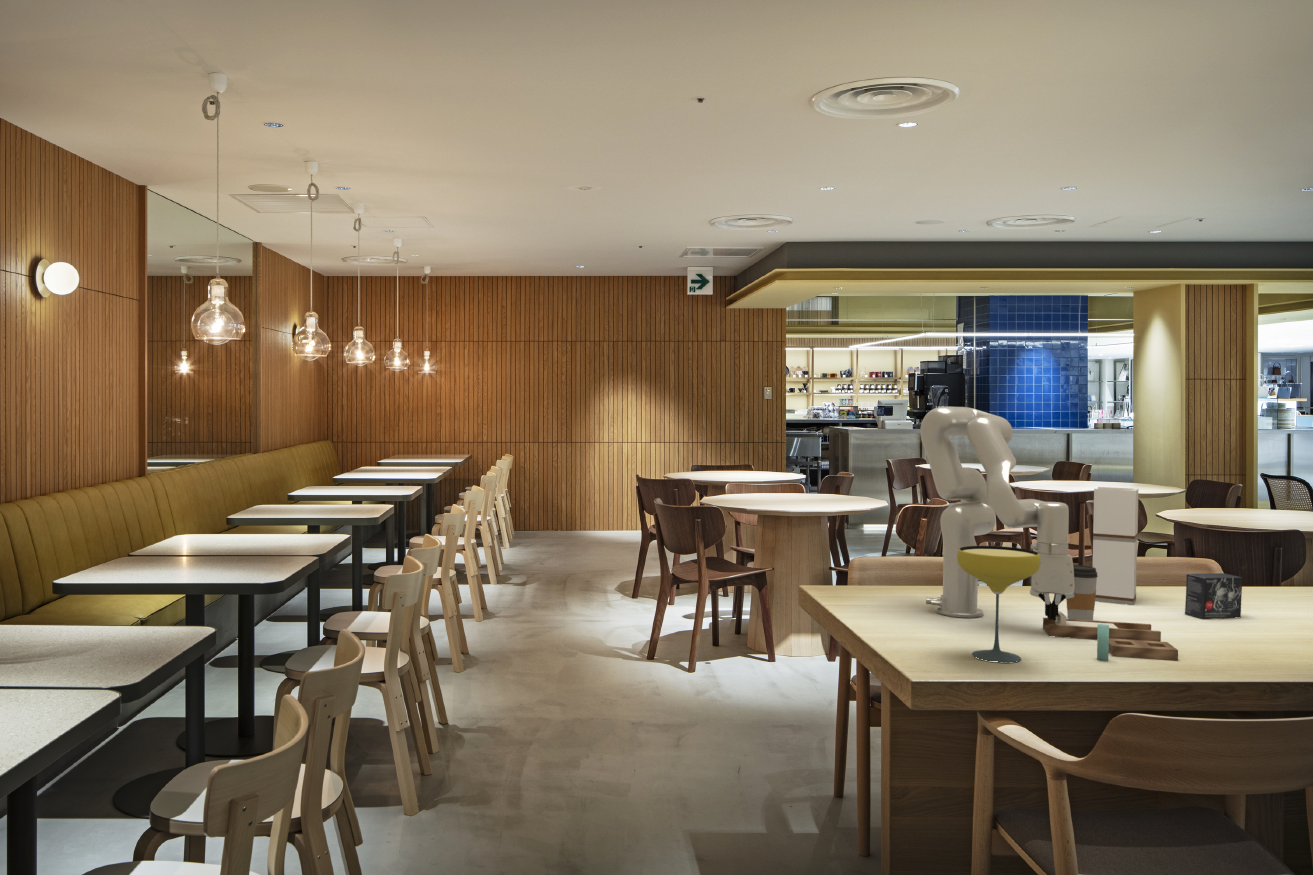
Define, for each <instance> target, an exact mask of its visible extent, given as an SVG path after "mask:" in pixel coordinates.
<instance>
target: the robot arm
mask: <svg viewBox="0 0 1313 875" xmlns="http://www.w3.org/2000/svg"><path fill="white" fill-rule="evenodd" d="M919 434H920V440H921V443H922V445H923V448H924V451H925V454H926V457H927V460H928V463H929V467H930V470H931V471H930V472H931V474H932V475H931V476H932V479H933V482H934V485H935V488H936V491H937V494H938V496H939V497H940V498H941V499H943V500H946V501H960V502H961V503H955V504H952V505H950V506H948V507H946V508H945V509H944V510H943V512H942V514H941V516H940V523H939V524H940V529H941V535H942V544H943V546H942V547H943V551H942V552H943V553H942V554H943V555H942V556H943V558H942V560H943V561H942V562H943V564H942V565H943V566H942V567H943V568H942V594H940V596H938V597H936V598H934V597H925V604H926V605H930V606H937V608H936V612H937V613H938V614H940V615H943V616H947V617H952V618H964V619H965V618H966V619H968V618H973V619H974V618H979V617H982V616H984V611H983V610H982V609H980V608H979V607H978V594H979V593H978V591H979V590H978V589H979V587H978V585H979V584H978V583H979V579H977V578H975V577H974V576H972V575H970V574H969V573H967V572H966V571H964V570H963V569H962V568H961V567H960V566H959V564H958V559H957V555H958V550H959V548H961V547H966V546H978V545H977V542H976V539H975V536H982V535H987V534H989V533H991V532H992V531H993V529H994V528H995V525H996V523H997V522H996V521H997V520H996V519H997V518H998V519H999V521H1000V522H1001V524H1003V525H1005V527H1007V528H1010V529H1021V528H1034V527H1036V541H1035V543H1032V544H1030V550H1033V551H1036V552H1038V553H1039V555H1040V567H1039V569H1038V571H1037V572H1036V573H1035V574H1033V575H1032V576H1030V590H1029V595H1031V596H1033V597H1036V598H1039V599H1040V600H1042V601H1043V602H1044V615H1045V616H1046V618H1048V619H1049V620H1051V619H1053V620H1056V616H1058V611H1059V605H1060V604H1061V603H1062V602H1063V601H1064V600H1066V599H1067V598H1073V597H1074V568H1073V565H1074V562H1073V557H1072V555H1071V554H1069V528H1070V527H1069V523H1070V522H1069V519H1070V518H1069V517H1070V516H1069V515H1070V514H1069V512H1070V511H1069V510H1070V508H1069V505H1068V504H1067V503H1064V502H1060V501H1058V502H1057V501H1043V500H1040V499H1035V498H1025V499H1023V498H1022V499H1018V498H1017V496H1016V495H1015V492H1014V491H1013V489H1012V487H1011V484H1010V473H1011V471H1012V470H1013V469H1014V468H1015V467H1016V465H1017V459H1016V457H1015V456H1014V454H1013V452H1012V450H1011V449H1010V446H1009V445H1008V443H1010V442H1011V440H1012V438H1013V436H1014V434H1013V427H1012V425H1011V423H1010V422H1009V421H1008V420H1007V419H1006V418H1004V417H1002V416H999V415H996V414H993V413H988V412H986V411H982V410H979V409H976V408H972V407H967V406H939V407H935V408H932V409H931V410H929V411H928V412H927V413H926V414H925V416H924V417H923V419H922V421H921V425H920V430H919ZM950 436H952V437H953V436H954V437H955V436H957V437H958V436H960V437H962V436H964V437H967V439H968V442H969V443H970V444H971V447H972V449H973V451H974V453H975V455H976V456H977V458H978V461H979V462H980V464H981V466H982V467H983V470H984V471H985V474H986V479H985V478H984V476H983V475H982V473H981V472H980V471H979V470H978V469H975V468H973V467H965V466H964V467H963V465H962V463H961V461H960V458H959V457H960V456H959V453H958V450H957V448H956V446H955V445H954V443H952V441H951V439H950ZM996 516H997V518H996ZM1050 594H1053V599H1052V601H1051V598H1050Z"/></svg>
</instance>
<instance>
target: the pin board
mask: <svg viewBox="0 0 1313 875" xmlns="http://www.w3.org/2000/svg"><path fill="white" fill-rule="evenodd" d="M1109 655H1111V656H1112V657H1122V658H1135V659H1138V658H1139V659H1151V660H1164V661H1165V660H1169V661H1178V660H1179V650H1178V649H1177V648H1176V647H1175V646H1174V645H1172V644H1171V643H1169V642H1168V641H1161V642H1159V641H1143V640H1127V639H1112V638H1109Z"/></svg>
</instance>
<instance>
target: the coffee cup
mask: <svg viewBox="0 0 1313 875" xmlns="http://www.w3.org/2000/svg"><path fill="white" fill-rule="evenodd" d="M1073 568H1074V597H1073V598H1067V599H1065V600H1066V612H1067V614H1066V615H1067V619H1075V620H1091V621H1094V614H1095V613H1094V612H1095V604H1096V601H1095V596H1096V582H1097V577H1098V576H1097V572H1096V568H1094V567H1093V566H1088V565H1078V564H1075V565H1074V564H1073Z"/></svg>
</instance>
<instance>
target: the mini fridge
mask: <svg viewBox="0 0 1313 875" xmlns="http://www.w3.org/2000/svg"><path fill="white" fill-rule="evenodd" d="M1138 521H1139V488H1133V487H1132V488H1131V487H1129V488H1128V487H1110V486H1109V487H1106V486H1105V487H1104V486H1098V487H1097V488H1094V489H1093V524H1092V525H1093V529H1092V530H1093V533H1092V567H1094V568H1096V572H1097V576H1098V577H1097V582H1096V596H1095V602H1097V601H1098V602H1099V603H1108V604H1118V605H1125V604H1127V605H1128V606H1134V605H1135V602H1136V601H1137V566H1138V565H1137V561H1138V557H1137V556H1138V535H1139V534H1138V531H1139V530H1138V529H1139V528H1138V526H1139V522H1138Z"/></svg>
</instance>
